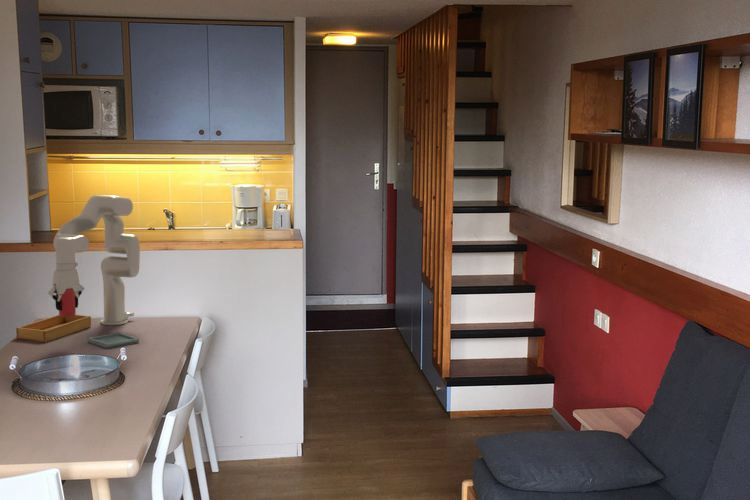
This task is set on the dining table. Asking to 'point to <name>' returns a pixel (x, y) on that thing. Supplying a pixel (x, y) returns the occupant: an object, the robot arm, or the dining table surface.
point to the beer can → (68, 303)
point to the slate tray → (113, 340)
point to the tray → (53, 327)
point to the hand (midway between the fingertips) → (67, 308)
